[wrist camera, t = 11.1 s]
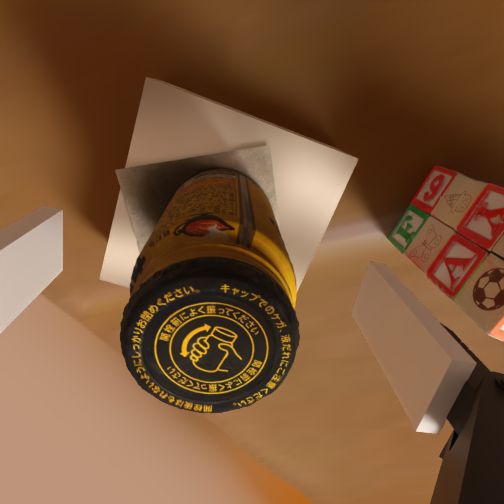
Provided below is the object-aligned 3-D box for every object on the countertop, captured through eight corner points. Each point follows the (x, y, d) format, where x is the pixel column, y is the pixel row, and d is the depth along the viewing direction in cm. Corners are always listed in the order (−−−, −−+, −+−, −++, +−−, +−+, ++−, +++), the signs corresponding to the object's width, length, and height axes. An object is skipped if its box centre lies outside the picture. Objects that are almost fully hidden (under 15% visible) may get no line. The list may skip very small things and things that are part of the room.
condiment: (284, 264, 23) (333, 422, 12) (150, 284, 23) (73, 461, 12) (269, 144, 20) (317, 204, 9) (116, 168, 20) (-29, 257, 9)
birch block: (163, 81, 23) (146, 76, 18) (335, 147, 25) (358, 158, 20) (122, 248, 27) (99, 279, 22) (271, 293, 29) (279, 329, 24)
